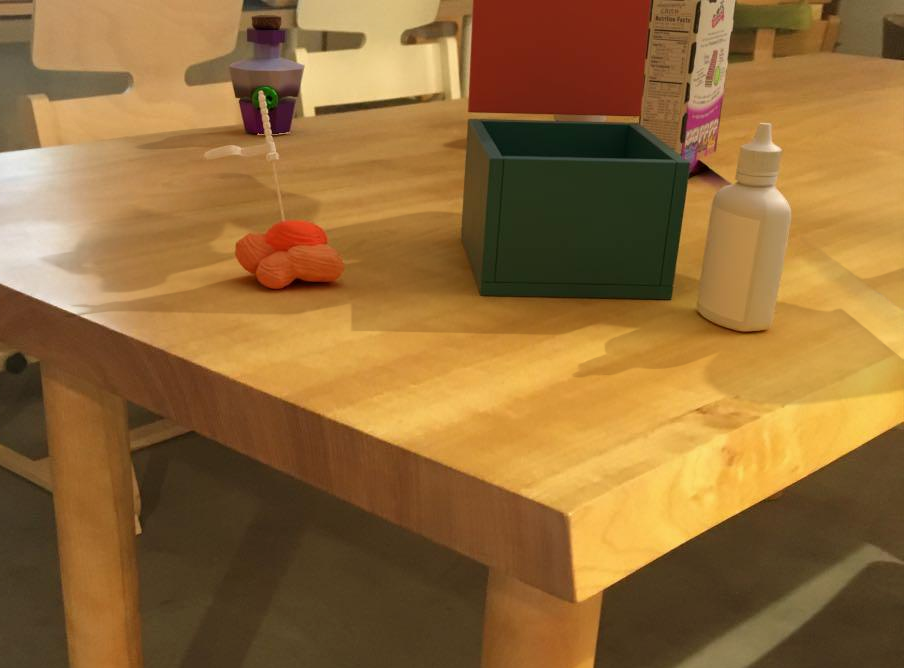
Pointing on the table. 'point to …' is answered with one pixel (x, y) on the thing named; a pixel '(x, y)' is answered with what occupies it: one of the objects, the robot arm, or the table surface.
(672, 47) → the candy bar box
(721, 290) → the eye dropper bottle
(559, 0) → the lid
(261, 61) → the potion bottle
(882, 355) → the table surface
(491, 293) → the open storage box
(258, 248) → the peanut cluster ornament
